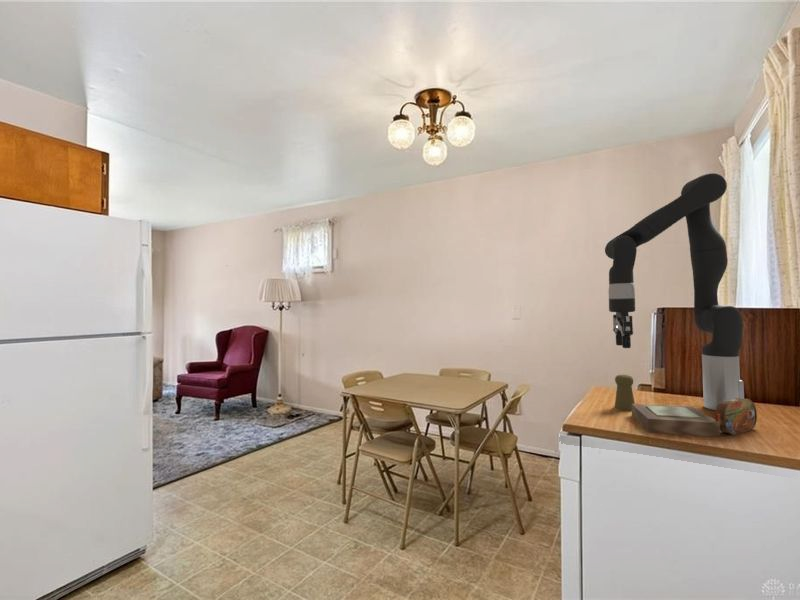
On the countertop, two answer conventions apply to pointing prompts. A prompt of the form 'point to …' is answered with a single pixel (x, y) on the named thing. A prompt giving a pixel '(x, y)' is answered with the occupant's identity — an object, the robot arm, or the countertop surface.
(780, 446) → the countertop surface
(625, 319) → the robot arm
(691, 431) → the stand
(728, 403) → the tin
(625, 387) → the olive pepper mill
